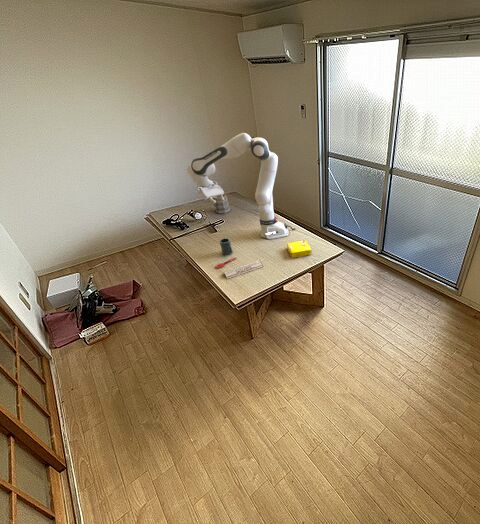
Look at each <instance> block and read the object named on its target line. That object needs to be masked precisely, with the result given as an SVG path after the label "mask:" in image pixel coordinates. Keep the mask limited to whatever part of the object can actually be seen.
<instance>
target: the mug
mask: <svg viewBox="0 0 480 524" xmlns="http://www.w3.org/2000/svg"><path fill="white" fill-rule="evenodd" d="M219 245H220V249H221V253H222V255H223V256H229V255H231V254H233V248H232V244H231V240H230V238H226V237H225V238H221V239H220V240H219Z"/></svg>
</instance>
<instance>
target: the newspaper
mask: <svg viewBox="0 0 480 524" xmlns="http://www.w3.org/2000/svg"><path fill="white" fill-rule="evenodd" d="M261 268H263V265H262V263H261V262H260V260H255V261H253V262H250V263H248V264H244V265H241V266H238V267H234V268H231V269H228V270H226V271H223V275H224V276H225V277H226V279H227V280H228V279H232V278H234V277H237V276H240V275H243V274H246V273H249V272H252V271H255V270H257V269H261Z"/></svg>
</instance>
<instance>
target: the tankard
mask: <svg viewBox="0 0 480 524" xmlns="http://www.w3.org/2000/svg"><path fill="white" fill-rule="evenodd" d="M223 198H224V199H225V201H223V202H222V201H221V198H220V197H216V198H212V199H213V200H215V201H216V203H215V204H213V203H212V204H213V206H214V207H215V213H217V214H226V213H229V212H231V207H230V204H229V202H228V200H229V199H228V197H227V195H226V194H224V195H223Z"/></svg>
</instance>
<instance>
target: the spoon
mask: <svg viewBox="0 0 480 524" xmlns="http://www.w3.org/2000/svg"><path fill="white" fill-rule="evenodd" d="M236 259H237V258H236V257H233V258H231V259H229V260H227V261H225V262H223V263H222V262H221V263H219V264H217V265H216V266H215V268H216V269H221V268H224V267H225V265H227V264H228V263H231V262H232V261H235V260H236Z"/></svg>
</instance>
